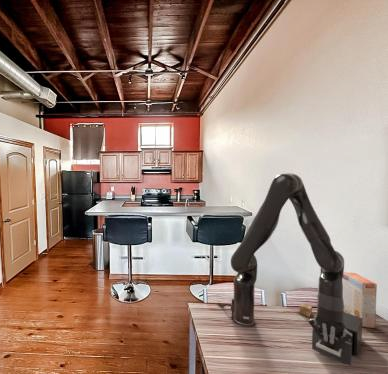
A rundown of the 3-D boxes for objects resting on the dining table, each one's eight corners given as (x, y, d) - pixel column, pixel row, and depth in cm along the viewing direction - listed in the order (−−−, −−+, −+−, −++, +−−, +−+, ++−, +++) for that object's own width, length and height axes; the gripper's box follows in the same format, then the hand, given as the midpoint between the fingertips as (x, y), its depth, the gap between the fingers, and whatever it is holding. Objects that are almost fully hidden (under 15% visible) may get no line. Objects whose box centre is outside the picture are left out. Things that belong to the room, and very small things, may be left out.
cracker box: (376, 329, 106) (377, 283, 106) (361, 327, 108) (362, 282, 107) (354, 312, 120) (355, 272, 120) (341, 311, 121) (342, 271, 121)
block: (299, 313, 119) (299, 305, 119) (302, 310, 121) (302, 302, 121) (309, 317, 116) (309, 309, 115) (311, 314, 118) (311, 306, 118)
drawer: (348, 373, 80) (348, 351, 80) (308, 354, 89) (308, 334, 89) (356, 349, 92) (356, 329, 92) (320, 334, 101) (320, 317, 101)
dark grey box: (356, 356, 89) (357, 332, 89) (316, 339, 99) (316, 317, 99) (361, 340, 99) (362, 318, 98) (324, 326, 108) (324, 306, 108)
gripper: (305, 301, 88) (304, 346, 89) (352, 316, 78) (351, 367, 79) (311, 295, 93) (310, 337, 93) (355, 308, 83) (355, 356, 83)
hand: (329, 351), depth 86 cm, fingers closed
